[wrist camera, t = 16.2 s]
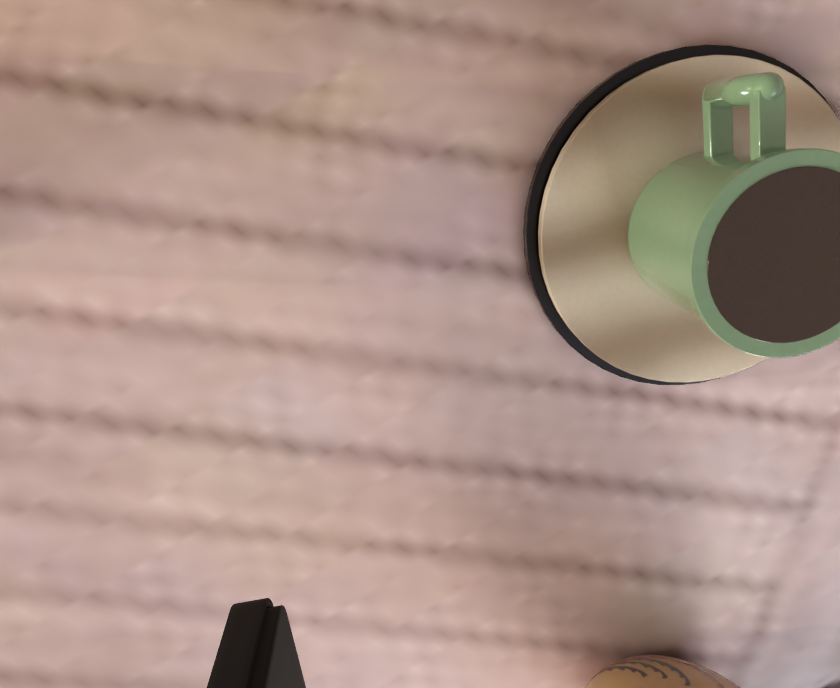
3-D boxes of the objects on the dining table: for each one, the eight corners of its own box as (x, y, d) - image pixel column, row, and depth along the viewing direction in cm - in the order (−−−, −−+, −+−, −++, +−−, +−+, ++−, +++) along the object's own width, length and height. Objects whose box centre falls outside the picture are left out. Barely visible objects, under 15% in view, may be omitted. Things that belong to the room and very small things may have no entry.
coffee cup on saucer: (848, 350, 36) (983, 413, 28) (554, 401, 35) (606, 479, 28) (855, 30, 31) (1018, -4, 23) (519, 86, 31) (569, 71, 23)
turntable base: (472, 321, 35) (474, 324, 34) (609, -13, 31) (614, -15, 30) (751, 421, 37) (757, 425, 37) (911, 125, 33) (921, 124, 33)
